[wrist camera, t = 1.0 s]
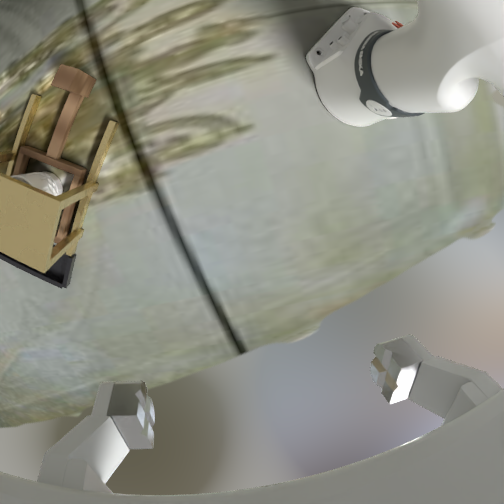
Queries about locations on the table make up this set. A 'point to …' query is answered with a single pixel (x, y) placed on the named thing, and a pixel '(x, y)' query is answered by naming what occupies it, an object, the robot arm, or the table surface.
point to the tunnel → (42, 213)
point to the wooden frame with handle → (62, 137)
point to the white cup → (42, 181)
